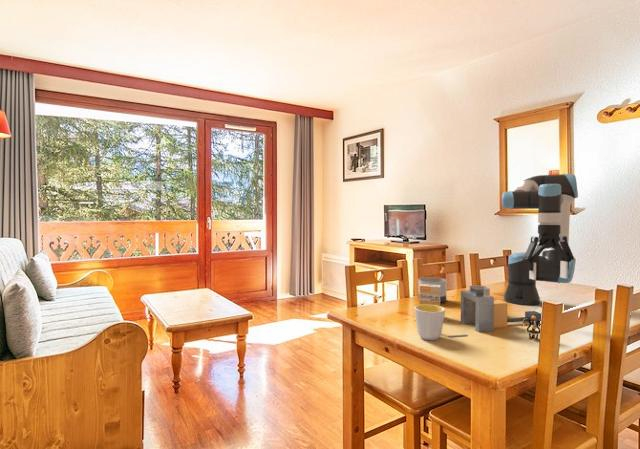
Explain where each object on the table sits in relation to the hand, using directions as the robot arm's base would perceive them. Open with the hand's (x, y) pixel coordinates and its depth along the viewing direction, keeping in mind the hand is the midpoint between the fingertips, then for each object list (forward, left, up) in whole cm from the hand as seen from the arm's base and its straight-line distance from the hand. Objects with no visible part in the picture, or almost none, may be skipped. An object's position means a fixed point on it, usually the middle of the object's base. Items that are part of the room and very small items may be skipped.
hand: (548, 278), depth 148 cm
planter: (+29, -40, -17) cm, 52 cm away
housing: (+31, 0, -17) cm, 35 cm away
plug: (+15, 0, -17) cm, 23 cm away
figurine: (+20, +16, -17) cm, 31 cm away
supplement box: (+42, -16, -17) cm, 48 cm away
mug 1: (+52, +7, -17) cm, 56 cm away
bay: (+43, 0, -17) cm, 46 cm away
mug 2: (+18, -18, -17) cm, 30 cm away
